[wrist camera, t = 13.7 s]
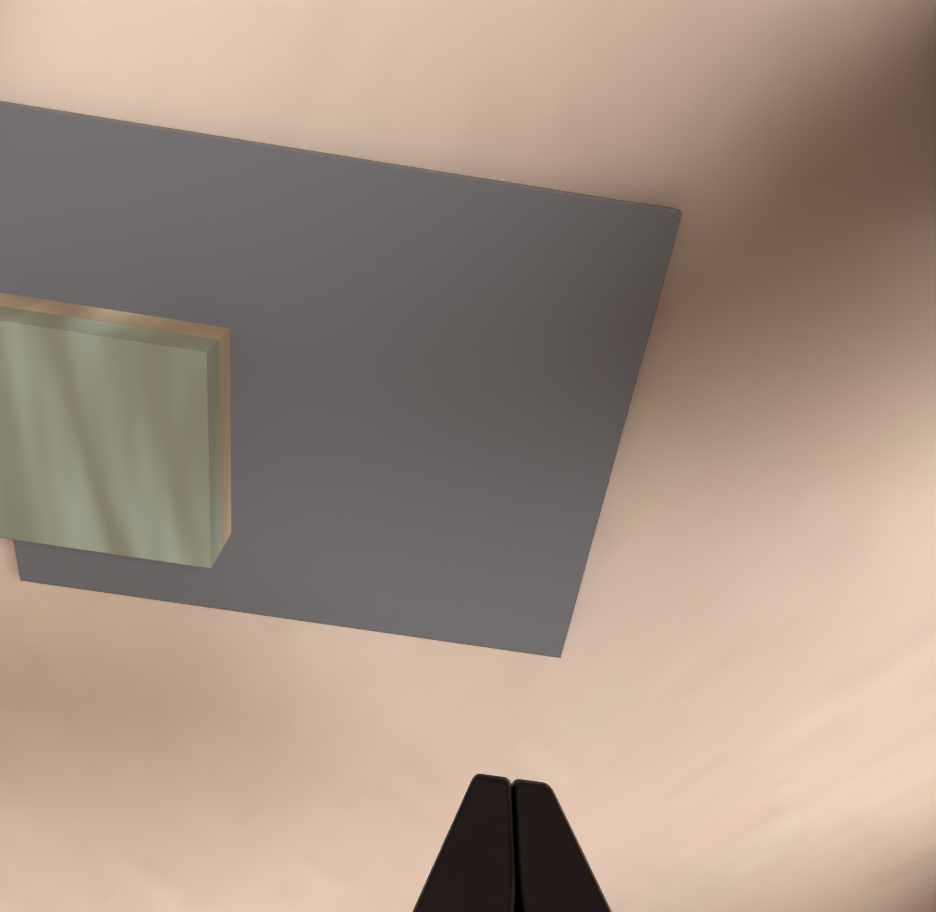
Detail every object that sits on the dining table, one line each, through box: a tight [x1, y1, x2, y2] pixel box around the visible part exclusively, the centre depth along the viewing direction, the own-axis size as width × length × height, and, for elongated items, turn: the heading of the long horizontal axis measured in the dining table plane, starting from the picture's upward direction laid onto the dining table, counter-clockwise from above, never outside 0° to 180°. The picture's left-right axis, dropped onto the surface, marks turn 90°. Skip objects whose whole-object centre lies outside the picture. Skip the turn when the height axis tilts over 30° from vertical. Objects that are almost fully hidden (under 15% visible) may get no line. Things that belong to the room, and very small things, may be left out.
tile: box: [0, 293, 231, 568], centre depth 19 cm, size 2×6×6 cm
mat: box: [0, 101, 682, 658], centre depth 20 cm, size 16×13×1 cm
